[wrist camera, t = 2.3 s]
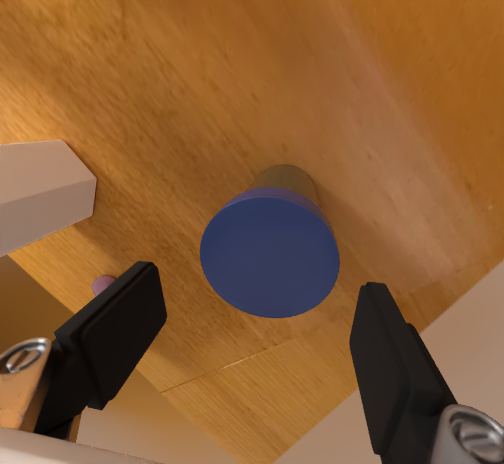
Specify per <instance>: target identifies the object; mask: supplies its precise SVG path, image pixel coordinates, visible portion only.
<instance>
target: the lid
mask: <svg viewBox="0 0 504 464" xmlns="http://www.w3.org/2000/svg"><path fill="white" fill-rule="evenodd" d="M200 260H201V265H202V268H203V271H204V274H205V276H206V278H207V280H208V282H209V283H210V285H211V287H212V288H213V289H214V290H215V291H216V293H217V294H218V295H219V296H220V297H221V298H223V299H224V300H225V301H226V302H228V303H229V304H230V305H232V306H234V307H235V308H237V309H239V310H241V311H243V312H246V313H249V314H252V315H255V316H260V317H265V318H285V317H291V316H296V315H299V314H302V313H304V312H307V311H309V310H310V309H312V308H314V307H315V306H317V305H318V304H319V303H321V302H322V301H323V300H324V299H325V298H326V297H327V295H328V294H329V293H330V291H331V290H332V288H333V287H334V285H335V282H336V280H337V277H338V273H339V267H340V265H339V264H340V261H339V252H338V248H337V244H336V240H335V237H334V233H333V230H332V227H331V225H330V222H329V221H328V219H327V217H326V216H325V214H324V213H323V212H322V211H321V209H320V208H319V207H318V206H317V205H316V204H314V203H313V202H312V201H311V200H309V199H308V198H306V197H305V196H303V195H301V194H299V193H297V192H294V191H291V190H288V189H284V188H278V187H261V188H255V189H251V190H248V191H245V192H243V193H241V194H238V195H237V196H235V197H234V198H232V199H231V200H230V201H229V202H227V203H226V204H225V205H224V206H223V207H222V208H221V210H220V211H219V212H218V213H217V214H216V215H215V216H214V217H213V218H212V220H211V221H210V222H209V224H208V225H207V227H206V229H205V231H204V233H203V236H202V240H201V245H200Z"/></svg>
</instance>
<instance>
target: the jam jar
mask: <svg viewBox="0 0 504 464" xmlns="http://www.w3.org/2000/svg"><path fill="white" fill-rule="evenodd" d="M261 187H278V188H284V189H288V190H291V191H294V192H297V193H299V194H301V195H303V196H305V197H306V198H308V199H309V200H311V201H312V202H313V203H314V204H316V205H317V206H318V207H319V208H320V209H321V206H320V201H319V197H318V192H317V188H316V186H315V183H314V182H313V180H312V179H311V177H310V176H309V175H308V174H307V173H306V172H304V171H303V170H301V169H299V168H297V167H294V166H291V165H276V166H272V167H269V168H267V169H265V170H264V171H262V172H261V173H260V174H259V175H258V176H257V177H256V178H255V179H254V180H253V182H252V183H251V184H250V185H249V186H248V188H247V189H246V190H245V191H248V190H251V189H255V188H261ZM245 191H244V192H245Z"/></svg>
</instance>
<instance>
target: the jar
mask: <svg viewBox="0 0 504 464" xmlns="http://www.w3.org/2000/svg"><path fill="white" fill-rule="evenodd" d="M96 183H97V178H96V177H95V176H94V174H93V173H92V172H91V171H90V170H89V169H88V168H87V167H86V165H85V164H84V163H83V162H82V161H81V160H80V159H79V157H78V156H77V155H76V154H75V153H74V152H73V151H72V149H71V148H70V147H69V146H68V145H67V144H66V143H65V141H63V140H61V139H59V140H46V141H33V142H20V143H7V144H0V257H2V256H4V255H7V254H9V253H11V252H13V251H15V250H18V249H20V248H22V247H24V246H27V245H29V244H31V243H33V242H35V241H38V240H40V239H42V238H44V237H46V236H49V235H51V234H53V233H55V232H58V231H60V230H62V229H64V228H66V227H69V226H71V225H73V224H75V223H78V222H80V221H82V220H84V219H86V218H89V217H91V216H92V215H93V207H94V199H95V191H96Z"/></svg>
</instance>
